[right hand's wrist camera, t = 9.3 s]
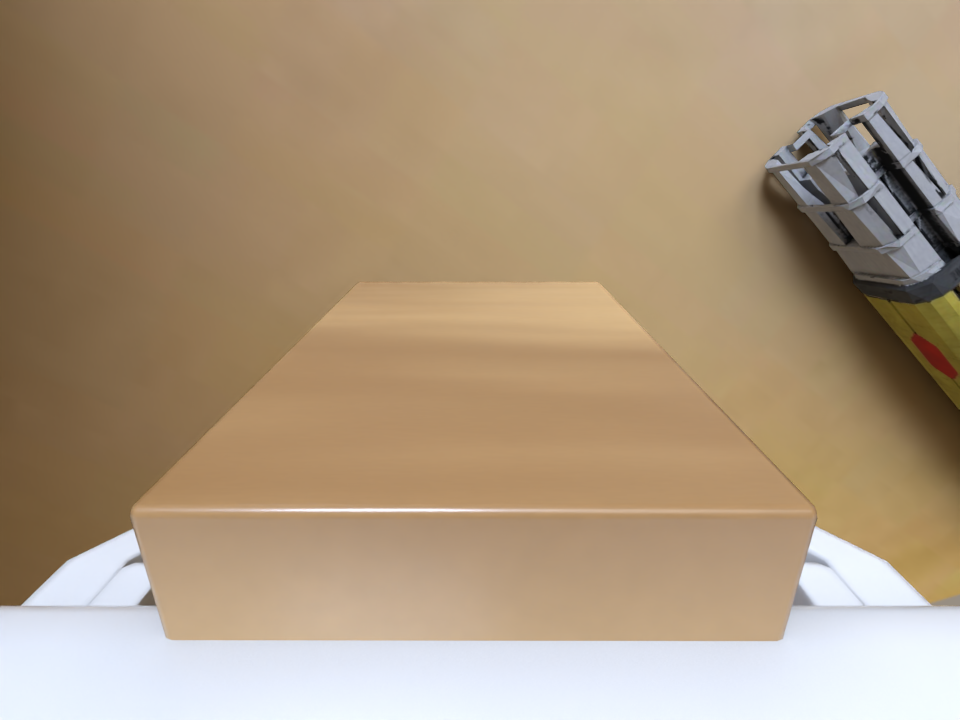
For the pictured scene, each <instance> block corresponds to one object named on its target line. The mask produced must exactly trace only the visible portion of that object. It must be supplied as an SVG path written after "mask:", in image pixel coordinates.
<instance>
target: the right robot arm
mask: <svg viewBox="0 0 960 720" xmlns="http://www.w3.org/2000/svg"><path fill="white" fill-rule="evenodd" d="M0 720H960V606H932V605H931V604H930V603H929V602H928V601H927V600H926V599H925V598H924V597H922V596H921V595H920V594H919V593H918V592H917V591H916V590H915V589H914V588H913V587H912V586H911V585H910V584H909V583H908V582H907V581H906V580H905V579H904V578H903V577H902V576H901V575H900V574H899V573H898V572H897V571H896V570H895V569H894V568H893V567H892V566H891V565H890V564H889V563H888V562H887V561H885V560H883V559H881V558H879V557H877V556H875V555H873V554H871V553H869V552H867V551H865V550H863V549H861V548H859V547H857V546H855V545H853V544H851V543H849V542H847V541H845V540H843V539H841V538H838V537H836V536H834V535H832V534H830V533H828V532H826V531H824V530H822V529H820V528H818V527H816V526H815V528H814V532H813V535H812V538H811V542H810V545H809V549H808V552H807V556H806V559H805V563H804V566H803V570H802V573H801V577H800V580H799V584H798V587H797V591H796V594H795V598H794V601H793V605H792V608H791V612H790V615H789V619H788V622H787V626H786V629H785V633H784V636H783V639H781V640H779V641H355V640H170V639H167V638H166V636H165V633H164V630H163V626H162V623H161V620H160V616H159V613H158V610H157V606H156V603H155V600H154V596H153V593H152V590H151V586H150V583H149V580H148V576H147V573H146V569H145V566H144V563H143V559H142V556H141V553H140V549H139V546H138V543H137V539H136V536H135V533H134V529H131V530H129V531H127V532H125V533H123V534H121V535H119V536H117V537H115V538H113V539H111V540H109V541H106V542H104V543H102V544H100V545H98V546H96V547H94V548H92V549H90V550H88V551H86V552H84V553H82V554H80V555H78V556H75V557H73V558H71V559H69V560H67V561H66V562H65V563H64V564H63V565H62V566H61V567H60V568H59V569H58V570H57V571H56V572H55V573H54V574H53V575H52V576H51V577H50V578H49V579H48V580H47V581H46V582H45V583H44V584H42V585H41V586H40V587H39V588H38V589H37V590H36V591H35V592H34V593H33V594H32V595H31V596H30V597H29V598H28V599H27V600H26V601H25V602H24V603H23V604H22V605H21V606H0Z"/></svg>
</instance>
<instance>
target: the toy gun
mask: <svg viewBox="0 0 960 720" xmlns="http://www.w3.org/2000/svg"><path fill="white" fill-rule="evenodd" d="M887 99H888V96H887V95H886V94H885V93H884V92H882V91H878V92H874V93H871V94H868V95H865V96H862V97H858V98H855V99H852V100H849V101H846V102H842V103H839V104H836V105H833V106H830V107H828V108H827V109H825V110H823V111H821V112H819V113H818V114H817V115H815V116H814V117H813V118H811V119H810V120H809V121H808V122H807V123H806V124H805V125H804V126H803V127H802V128H801V129H800V130H799V131H798V132H797V133H798V134H799V135H800V136H801V137H800V138H799V139H798V140H797V141H796V142H795V143H794V144H792V145H788V146H784V147H781V148H780V149H779V150H778V151H777V152H776V153H775V154H774V155H773V156H772V157H771V158H770V159H769V160H768V162H767V163H766V165H765V167H766V169H767V170H768V172H769V173H773V174H774V175H775V176H776V178H777V179H778V180H779V181H780V183H781V184H782V185H783V186H784V188H785V189H786V190H787V191H788V193H789V194H790V195H791V196H792V197H793V199H794V200H795V201H796V202H797V204H798V206H797V208H798V209H799V210H800V211H801V212H805V213H806V214H807V216H808V217H809V218H810V219H811V220H812V222H813V223H814V224H815V225H816V227H817V228H818V229H819V230H820V232H821V233H822V234H823V235H824V236H825V238H826V239H827V240H828V241H829V246H830V247H831V249H832V250H833V251H837V252H838V254H839V255H840V256H841V258H842V259H843V261H844V262H845V263H846V265H847V266H848V268H849V269H850V270H851V272H852V273H853V274H854V276H853V283H854V285H855V286H856V287H857V288H858V289H859V290H860V291H861V292H862V293H863V294H864V296H865V297H866V298H867V299H868V300H869V302H870V303H871V304H872V305H873V306H874V308H875V309H876V310H877V311H878V312H879V314H880V315H881V316H882V317H883V318H884V320H885V321H886V322H887V323H888V324H889V326H890V327H891V328H892V329H893V330H894V332H895V333H896V334H897V335H898V336H899V338H900V339H901V340H902V341H903V343H904V344H905V345H906V346H907V347H908V349H909V350H910V351H911V352H912V353H913V355H914V356H915V357H916V358H917V359H918V361H919V362H920V363H921V364H922V365H923V367H924V368H925V369H926V370H927V371H928V373H929V374H930V375H931V376H932V377H933V379H934V380H935V381H936V382H937V384H938V385H939V386H940V387H941V388H942V390H943V391H944V392H945V393H946V394H947V396H948V397H949V398H950V399H951V400H952V402H953V403H954V404H955V405H956V406H957V408H958V409H959V410H960V200H959V198H958V197H957V195H956V190H955V188H954V187H953V186H952V185H948V184H947V182H946V181H945V180H944V178H943V177H942V175H941V174H940V173H939V171H938V170H937V169H936V167H935V166H934V164H933V163H932V162H931V160H930V159H929V157H928V156H927V155H926V153H925V152H924V151H923V145H922V144H921V143H920V141H919V140H918V139H912V138H911V136H910V135H909V133H908V132H907V130H906V129H905V127H904V126H903V124H902V123H901V121H900V120H899V118H898V117H897V115H896V114H895V112H894V111H893V110H892V108H891V107H890V105H889V104H888V102H887ZM866 103H869V105H870V106H869V107H868V108H867V109H865V110H864V111H862V112H861V113H859V114H858V115H856V116H854V117H852V118H850V119H848V117H847V116H846V115H845V113H844V112H843V111H842V110H845V109H849V108H852V107H855V106H859V105H862V104H866ZM859 123H862V124H863V125H864V126H865V128H866V129H867V130H868V131H869V133H870V134H871V135H872V137H873V138H874V139H875V141H876V142H873V144H872V145H871V146H870V145H869V144H868V142H867V141H866V140H865V139H864V137H863V136H862V135H861V134H860V132H859V131H858V130H857V129H856V127H855V126H854V125H855V124H859ZM815 125H817V126H818V127H819V129H820V130H821V131H822V133H823V134H824V135H825V136H826V138H827V139H828V140H829V143H828V144H827V145H826V144H825V143H824V142H823V141H822V140H821V139H820V138H819V137H818V136H817V135H816V134H815V133H814V132H813V131H812V130H811V128H812V127H814V126H815ZM805 142H806V144H807V145H808V146H809V147H810V149H811V150H812V151H813V153H811V154H808V155H806V156H805V157H804V158H803V159H801V160H800V161H797V159H796V158H795V157H794V156H793V154H792V153H791V152H792V151H796V150H798V149H799V148H800V147H801V146H802V145H803V144H804V143H805ZM804 168H805V169H804ZM805 170H806V171H807V172H808V173H807V172H806V171H805Z"/></svg>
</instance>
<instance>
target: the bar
mask: <svg viewBox="0 0 960 720" xmlns="http://www.w3.org/2000/svg"><path fill="white" fill-rule="evenodd" d="M130 519H131V523H132V526H133V529H134V533H135V536H136V539H137V543H138V546H139V549H140V553H141V556H142V559H143V563H144V566H145V569H146V573H147V576H148V580H149V583H150V586H151V590H152V593H153V596H154V600H155V603H156V606H157V610H158V613H159V616H160V620H161V623H162V626H163V630H164V633H165V636H166V638H167V639H170V640H355V641H779V640H781V639H783V636H784V633H785V629H786V626H787V622H788V619H789V615H790V612H791V608H792V605H793V601H794V598H795V594H796V591H797V587H798V584H799V580H800V577H801V573H802V570H803V566H804V563H805V559H806V556H807V552H808V549H809V545H810V542H811V538H812V535H813V532H814V528H815V525H816V521H817V512H816V509H815V506H814V505H813V504H812V503H811V502H810V501H809V500H808V499H807V498H806V497H805V496H804V495H803V494H802V493H801V491H800V490H799V489H798V488H797V487H796V486H795V485H794V484H793V483H792V482H791V481H790V480H789V479H788V478H787V477H786V476H785V475H784V474H783V473H782V472H781V471H780V470H779V469H778V468H777V467H776V466H775V464H774V463H773V462H772V461H771V460H770V459H769V458H768V457H767V456H766V455H765V454H764V453H763V452H762V451H761V450H760V449H759V448H758V447H757V446H756V445H755V444H754V443H753V442H752V441H751V440H750V439H749V437H748V436H747V435H746V434H745V433H744V432H743V431H742V430H741V429H740V428H739V427H738V426H737V425H736V424H735V423H734V422H733V421H732V420H731V419H730V418H729V417H728V416H727V415H726V414H725V413H724V412H723V410H722V409H721V408H720V407H719V406H718V405H717V404H716V403H715V402H714V401H713V400H712V399H711V398H710V397H709V396H708V395H707V394H706V393H705V392H704V391H703V390H702V389H701V388H700V387H699V386H698V385H697V383H696V382H695V381H694V380H693V379H692V378H691V377H690V376H689V375H688V374H687V373H686V372H685V371H684V370H683V369H682V368H681V367H680V366H679V365H678V364H677V363H676V362H675V361H674V360H673V359H672V358H671V356H670V355H669V354H668V353H667V352H666V351H665V350H664V349H663V348H662V347H661V346H660V345H659V344H658V343H657V342H656V341H655V340H654V339H653V338H652V337H651V336H650V335H649V334H648V333H647V332H646V331H645V329H644V328H643V327H642V326H641V325H640V324H639V323H638V322H637V321H636V320H635V319H634V318H633V317H632V316H631V315H630V314H629V313H628V312H627V311H626V310H625V309H624V308H623V307H622V306H621V305H620V304H619V302H618V301H617V300H616V299H615V298H614V297H613V296H612V295H611V294H610V293H609V292H608V291H607V290H606V289H605V288H604V287H603V286H602V285H601V284H600V283H598V282H359V283H357V284H356V285H355V286H354V287H353V288H352V289H351V290H350V291H349V292H348V293H347V294H346V295H345V296H344V297H343V298H342V299H341V300H340V301H339V302H338V303H337V304H336V305H335V306H334V307H333V308H332V309H330V310H329V311H328V312H327V313H326V314H325V315H324V316H323V317H322V318H321V319H320V320H319V321H318V322H317V323H316V324H315V325H314V326H313V327H312V328H311V329H310V330H309V331H308V332H307V333H306V334H305V335H304V336H303V337H302V338H301V339H300V340H299V341H298V342H297V343H296V344H295V345H294V346H293V347H292V348H291V349H290V350H289V351H288V352H287V353H286V354H285V355H284V356H283V357H282V358H281V359H280V360H279V361H278V362H277V363H276V364H275V365H274V366H273V367H272V368H271V369H270V370H269V371H268V372H267V373H266V374H265V375H264V376H263V377H262V378H261V379H260V380H259V381H258V382H257V383H256V384H255V385H254V386H253V387H252V388H251V389H250V390H249V391H248V392H247V393H246V394H245V395H244V396H243V397H242V398H241V399H240V400H239V401H238V402H237V403H236V404H235V405H234V406H233V407H232V408H231V409H230V410H229V411H228V412H227V413H226V414H225V415H224V416H223V417H222V418H221V419H220V420H219V421H218V422H217V423H216V424H215V425H213V426H212V427H211V428H210V429H209V430H208V431H207V432H206V433H205V434H204V435H203V436H202V437H201V438H200V439H199V440H198V441H197V442H196V443H195V444H194V445H193V446H192V447H191V448H190V449H189V450H188V451H187V452H186V453H185V454H184V455H183V456H182V457H181V458H180V459H179V460H178V461H177V462H176V463H175V464H174V465H173V466H172V467H171V468H170V469H169V470H168V471H167V472H166V473H165V474H164V475H163V476H162V477H161V478H160V479H159V480H158V481H157V482H156V483H155V484H154V485H153V486H152V487H151V488H150V489H149V490H148V491H147V492H146V493H145V494H144V495H143V496H142V497H141V498H140V499H139V500H138V501H137V502H136V503H135V504H134V505H133V507H132V509H131V513H130Z"/></svg>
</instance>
